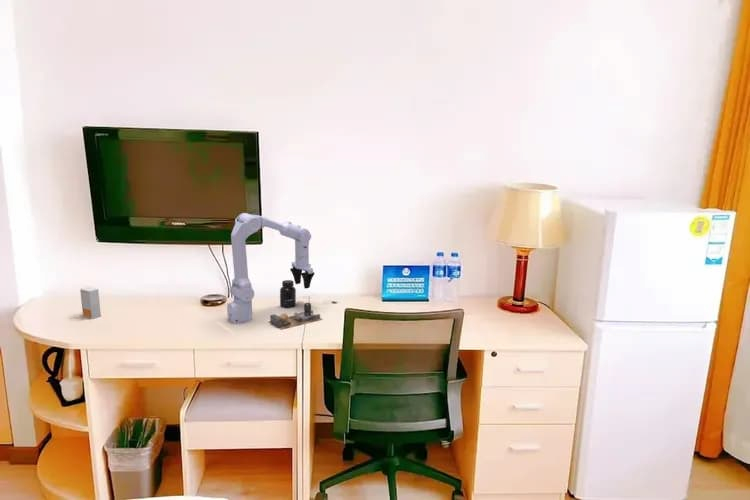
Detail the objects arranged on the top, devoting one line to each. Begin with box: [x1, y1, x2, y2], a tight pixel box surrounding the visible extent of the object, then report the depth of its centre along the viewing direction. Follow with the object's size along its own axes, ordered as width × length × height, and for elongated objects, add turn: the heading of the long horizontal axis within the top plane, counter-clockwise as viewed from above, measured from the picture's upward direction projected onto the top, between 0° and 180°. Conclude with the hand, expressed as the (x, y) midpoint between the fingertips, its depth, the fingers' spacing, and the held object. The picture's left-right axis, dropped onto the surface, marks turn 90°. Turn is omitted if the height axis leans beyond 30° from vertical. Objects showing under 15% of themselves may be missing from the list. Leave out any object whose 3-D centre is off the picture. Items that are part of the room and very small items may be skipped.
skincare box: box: [79, 286, 102, 320], centre depth 229 cm, size 6×4×12 cm
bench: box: [267, 309, 324, 331], centre depth 227 cm, size 20×11×4 cm, turn 128°
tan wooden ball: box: [278, 313, 290, 324], centre depth 224 cm, size 4×4×4 cm
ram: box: [293, 302, 315, 321], centre depth 229 cm, size 7×4×6 cm, turn 128°
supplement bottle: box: [279, 279, 297, 309], centre depth 244 cm, size 7×7×12 cm
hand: (302, 285), depth 243 cm, fingers open, 7 cm apart
